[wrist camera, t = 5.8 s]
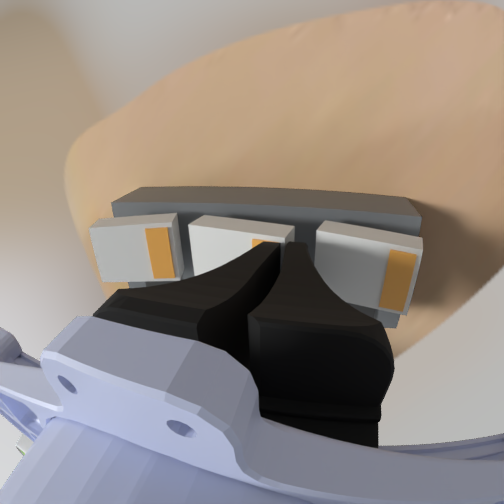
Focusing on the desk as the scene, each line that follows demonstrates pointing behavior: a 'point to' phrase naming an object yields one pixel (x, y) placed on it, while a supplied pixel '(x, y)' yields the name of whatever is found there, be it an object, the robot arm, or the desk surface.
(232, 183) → the desk surface
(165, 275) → the rocker
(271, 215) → the rocker switch panel
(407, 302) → the rocker
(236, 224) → the block
